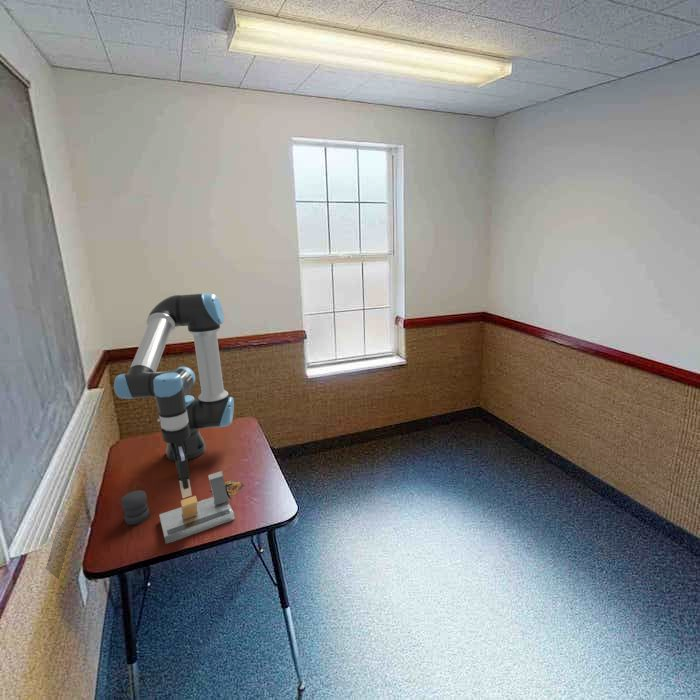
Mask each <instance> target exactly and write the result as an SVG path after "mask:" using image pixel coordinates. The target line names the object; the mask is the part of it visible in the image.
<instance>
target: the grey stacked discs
mask: <svg viewBox="0 0 700 700" xmlns="http://www.w3.org/2000/svg"><path fill="white" fill-rule="evenodd" d="M120 502H121V503H120V504H121V507H122V510H123V511H124V512H123V513H124V514H123V517H124V521H125V524H126V525H128V526H136V525H139V524H142V523H145V522H146V521H147V520H148V519H149V518H150V516H151V513H150V508H149V505H148V503H147V502H148V499H147V492H146V491H145V490H134V491H131V492H128V493H127V494H125V495H123V496H122V497H121V499H120Z"/></svg>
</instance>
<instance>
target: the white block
mask: <svg viewBox="0 0 700 700" xmlns="http://www.w3.org/2000/svg"><path fill="white" fill-rule="evenodd" d="M207 477H208V481H209V484H210V490H211V489H212V490H211V492H212V497H213V498H214V504H215V506H216V505H219V504H221V503H224V502H227V501H228V502H229V501H230V497H229V495H228V492H227V488H225V484H224V483H225V481H224V473H223V471H222V470H221V471H218V472H213V473H211V474H208V476H207Z"/></svg>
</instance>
